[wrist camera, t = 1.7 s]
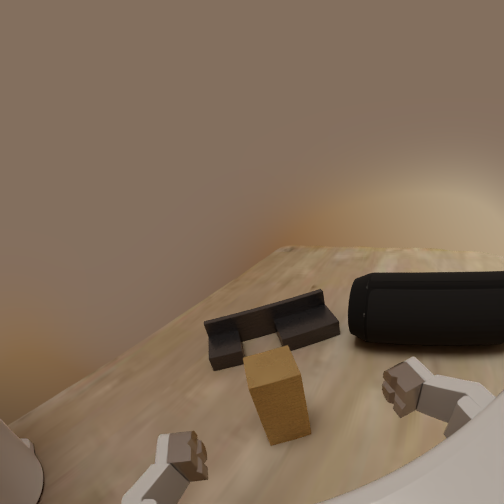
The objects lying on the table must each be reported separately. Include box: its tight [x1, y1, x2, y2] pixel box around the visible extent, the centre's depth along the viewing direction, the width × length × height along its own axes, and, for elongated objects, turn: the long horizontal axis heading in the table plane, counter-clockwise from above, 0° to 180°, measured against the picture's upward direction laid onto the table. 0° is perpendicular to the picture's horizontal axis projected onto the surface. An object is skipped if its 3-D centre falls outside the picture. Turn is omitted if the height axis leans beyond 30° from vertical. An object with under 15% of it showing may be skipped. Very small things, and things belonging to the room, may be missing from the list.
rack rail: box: [204, 289, 340, 371], centre depth 42 cm, size 7×20×5 cm, turn 98°
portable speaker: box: [348, 271, 504, 345], centre depth 30 cm, size 26×10×10 cm, turn 57°
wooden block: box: [243, 345, 311, 446], centre depth 25 cm, size 4×4×10 cm
